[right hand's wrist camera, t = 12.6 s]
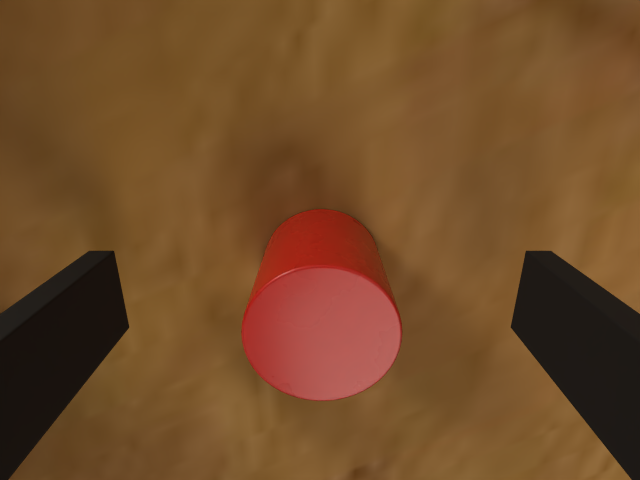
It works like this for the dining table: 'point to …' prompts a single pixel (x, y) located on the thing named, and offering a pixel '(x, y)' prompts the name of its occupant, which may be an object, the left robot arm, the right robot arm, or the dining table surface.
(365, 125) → the dining table surface
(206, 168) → the dining table surface
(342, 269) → the tin
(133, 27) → the dining table surface
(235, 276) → the dining table surface
